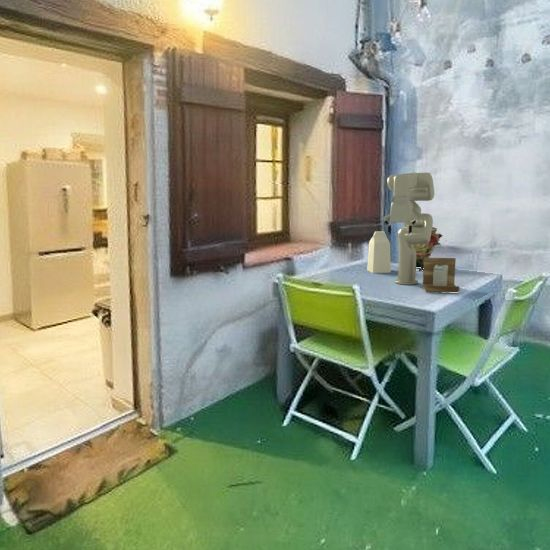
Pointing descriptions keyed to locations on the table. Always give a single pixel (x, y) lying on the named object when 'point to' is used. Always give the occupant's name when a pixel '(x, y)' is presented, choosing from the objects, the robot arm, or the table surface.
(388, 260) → the milk
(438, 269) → the light bulb box
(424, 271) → the cleat board
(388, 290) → the table surface
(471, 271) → the table surface
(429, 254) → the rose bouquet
